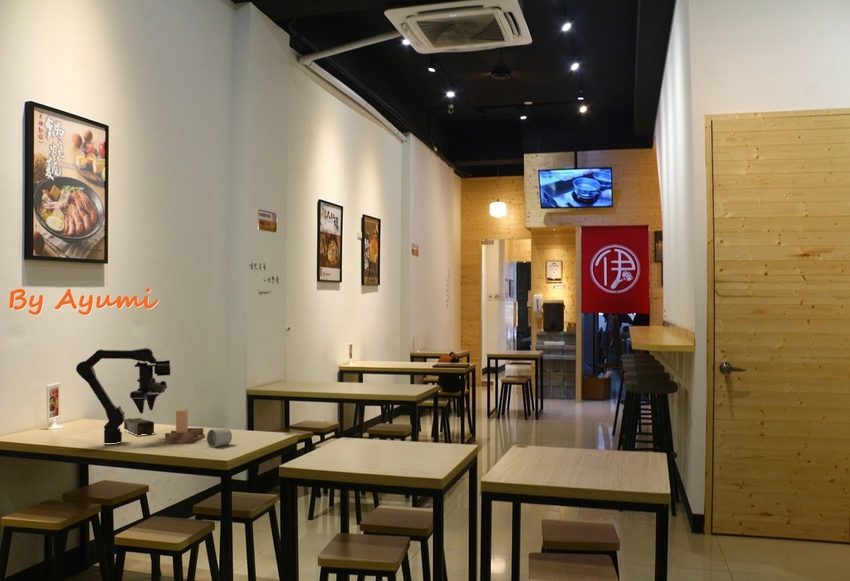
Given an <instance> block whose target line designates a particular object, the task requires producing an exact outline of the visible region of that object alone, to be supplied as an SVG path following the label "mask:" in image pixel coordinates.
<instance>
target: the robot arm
mask: <svg viewBox="0 0 850 581" xmlns="http://www.w3.org/2000/svg"><path fill="white" fill-rule="evenodd" d="M102 359H104V360H106V359H108V360H109V359H112V360H113V359H114V360H116V359H119V360H123V359H125V360H133V361H137V363H136V364H134V368H138V379H136V380H137V383H139V385H138V387H139V388H137V390H132V391H131V392H130V393H129V398H130V399H131V400H132V401H133V402H134V404H135V406H136V407H137V410H138V411H139V414H143V413H144V410H145V409H144V408H145V402H147V405H148V406H147V407H148V409H149V410H150V411H153V410H154V409H153V408H154V406H155V402H156V400H157V398H158V397H159V396H161V394H162V393H165V392H166V389H167V388H168V387H167V385H168V384H167V381H165V380H161V381H159V382H158V381H156V377H154V375H156V376H157V377H162V376H163V377H164V376H165V377H166V376H171V362H170V359H166V360H157V359H156V358H155V356H154V352H153V350H152V349H151V348H148V347H144V348H138V349H132V350H127V349H125V350H121V349H119V350H118V349H117V350H116V349H101V348H100V349H98V350H96V351H95V352H94V354H92V355H91V356H90V357H89V358H87V359H86V360H84V361H81V362H79V363H77V365H76V367H75V371H76V372H77V374H78V375H79V376H80V377H81V378H82V379H83V380H84V381H85V382H86V383H88V385H89V387H90V388H91V390H92V392H93V394H94V395H95V396H96V398H97V399H98V401H99V402H100V404H101V405H102V407H103V409H104V411H105V414H106V417H107V419H108V421H107V422H106V423H105V425H104V426H103V428H104V430H103V444H104V443H117V442H120V443H122V442H123V432H122V431H121V427H120V426H122V424H124V420H126V419H125V418H126V417H125V416H126V415H125V412H124V411H123V408H122V406H121V405H119V406H116V405H115V404H114V403H113V401H112V400H111V398H110V396H109V395H108V393H107V391H106V390H105V388H104V387H103V385H102V384H101V382H100V380H99V379H98V377H97V375H96V370H95V368H94V366H95V365H97V363H99V362H100V361H101V360H102ZM148 363H150V364H148Z"/></svg>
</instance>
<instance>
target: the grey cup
mask: <svg viewBox="0 0 850 581" xmlns="http://www.w3.org/2000/svg"><path fill="white" fill-rule="evenodd" d="M232 437H233V435H232V432H231V430H230V429H229V428H224V427H221V428H211V429H209V430H208V432H207V434H206V441H207V443H206V444H207V445H208V446H209V447H210V448H211V449H214V448H218V447H219V448H220V447H224V446H227V445H230V443H231V442H232V440H233V438H232Z"/></svg>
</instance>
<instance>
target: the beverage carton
mask: <svg viewBox="0 0 850 581" xmlns="http://www.w3.org/2000/svg"><path fill="white" fill-rule="evenodd" d="M124 429H126V430H128V431H130V432H132V433H134V434H137V435H141V434H152V433H155V422H154V421H151V420H148V419H147V420H146V419H143V418H140V417H139V418H138V417H136V418H131V417H130V418H129V417H128V418H127V419H124V422H123V430H124Z"/></svg>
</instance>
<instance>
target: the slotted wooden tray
mask: <svg viewBox="0 0 850 581" xmlns="http://www.w3.org/2000/svg"><path fill="white" fill-rule="evenodd" d="M205 435H206V434H205V433H204V427H188V433H176V430H171V431H170V432H166V433H164V440H163V445H186V444H187V445H188V444H189V445H190V444H193V443H195V442H197V441H199V440H200V439H203V438H205V437H206V436H205Z"/></svg>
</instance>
